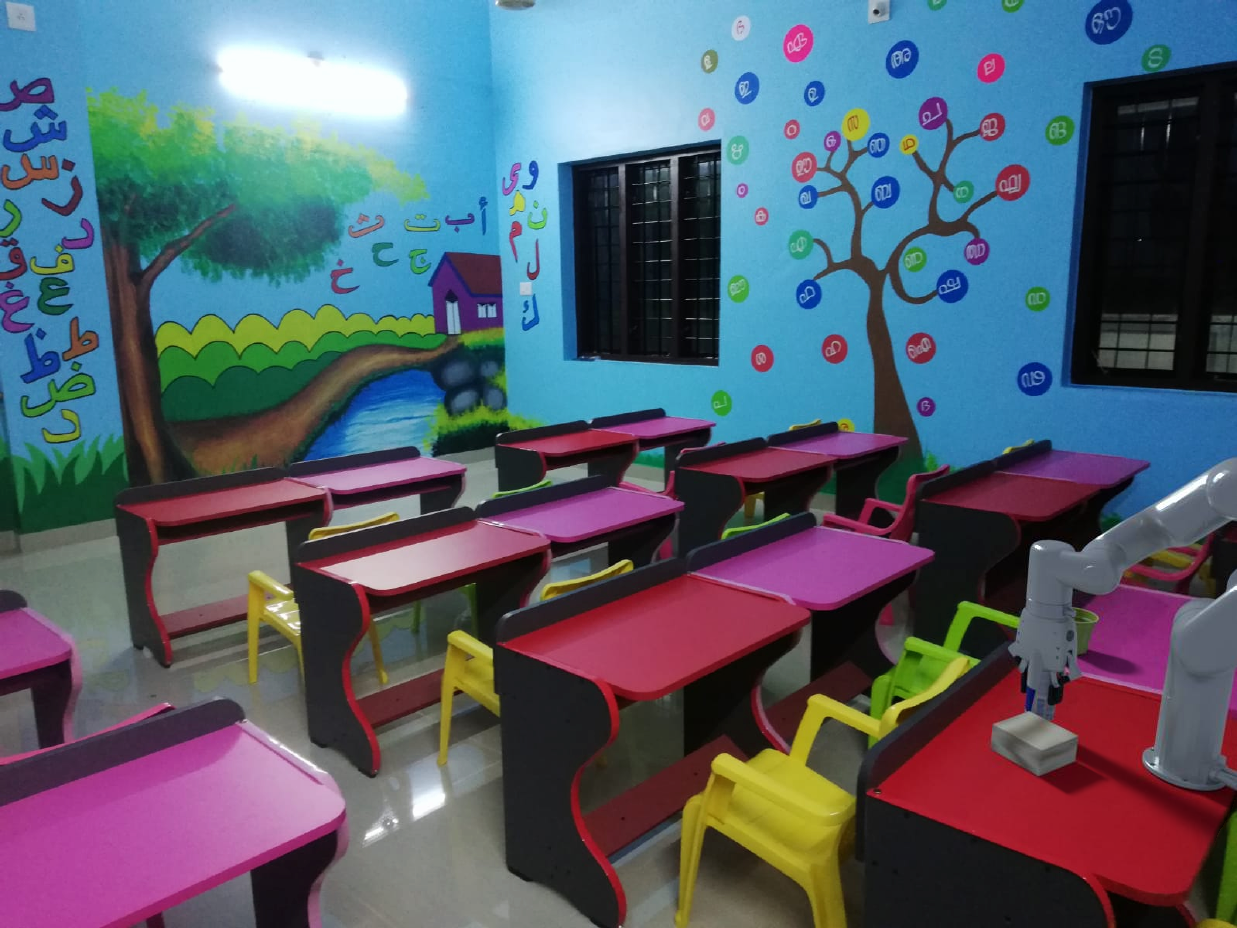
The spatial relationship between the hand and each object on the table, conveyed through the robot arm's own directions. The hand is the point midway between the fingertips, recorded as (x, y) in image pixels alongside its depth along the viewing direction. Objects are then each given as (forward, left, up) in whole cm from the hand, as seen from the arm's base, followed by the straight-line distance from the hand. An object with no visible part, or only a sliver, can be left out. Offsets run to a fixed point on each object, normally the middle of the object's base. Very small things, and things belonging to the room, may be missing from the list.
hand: (1040, 696), depth 165 cm
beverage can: (0, 0, -5) cm, 5 cm away
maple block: (-5, +8, -7) cm, 12 cm away
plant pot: (+20, -39, -7) cm, 44 cm away
